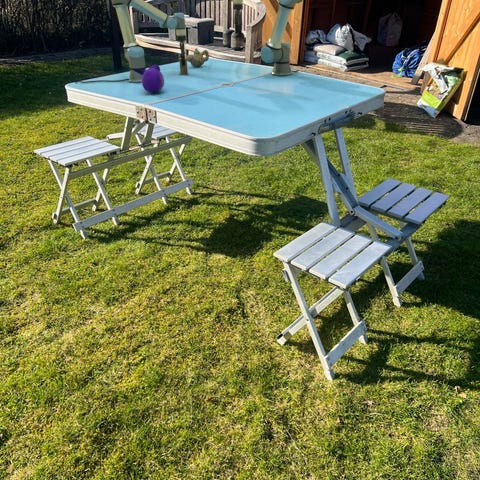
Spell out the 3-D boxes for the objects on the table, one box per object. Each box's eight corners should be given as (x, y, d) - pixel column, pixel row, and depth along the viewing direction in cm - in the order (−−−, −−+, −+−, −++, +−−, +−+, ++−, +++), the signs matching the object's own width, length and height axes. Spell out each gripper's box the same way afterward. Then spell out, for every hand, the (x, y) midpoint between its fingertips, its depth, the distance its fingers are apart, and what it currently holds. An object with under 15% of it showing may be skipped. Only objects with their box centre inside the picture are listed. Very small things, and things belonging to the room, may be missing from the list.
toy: (156, 85, 322) (164, 98, 301) (131, 81, 314) (137, 93, 294) (160, 63, 314) (168, 74, 293) (135, 58, 306) (141, 69, 286)
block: (187, 73, 364) (186, 57, 359) (187, 74, 360) (186, 58, 354) (180, 73, 364) (179, 58, 358) (180, 74, 359) (179, 59, 354)
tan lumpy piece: (189, 69, 379) (188, 50, 372) (184, 67, 388) (182, 48, 380) (212, 66, 388) (211, 47, 381) (206, 64, 397) (205, 46, 389)
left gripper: (176, 33, 358) (179, 61, 369) (176, 37, 336) (178, 67, 347) (185, 33, 358) (188, 61, 369) (186, 36, 337) (188, 66, 348)
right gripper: (230, 3, 349) (230, 33, 359) (236, 4, 328) (236, 36, 338) (239, 2, 350) (239, 32, 361) (246, 4, 329) (246, 36, 340)
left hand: (183, 64), depth 358 cm, fingers open, 13 cm apart
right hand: (238, 34), depth 350 cm, fingers open, 13 cm apart
